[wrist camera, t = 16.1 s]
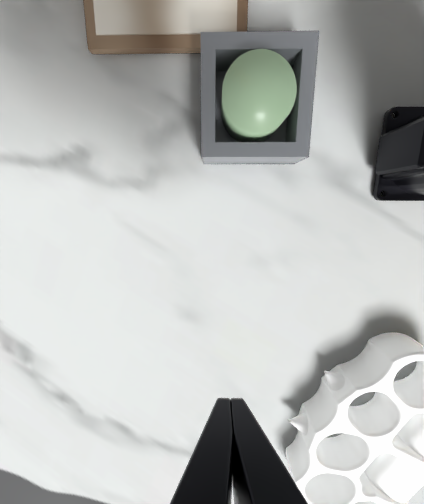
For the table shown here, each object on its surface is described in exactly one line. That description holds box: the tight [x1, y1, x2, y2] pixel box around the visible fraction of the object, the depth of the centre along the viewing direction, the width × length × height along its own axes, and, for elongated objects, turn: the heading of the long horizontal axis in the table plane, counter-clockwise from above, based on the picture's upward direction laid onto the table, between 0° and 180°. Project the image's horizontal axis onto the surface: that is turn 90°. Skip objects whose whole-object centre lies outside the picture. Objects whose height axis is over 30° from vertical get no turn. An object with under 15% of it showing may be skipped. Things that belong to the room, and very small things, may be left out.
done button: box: [221, 49, 297, 142], centre depth 16 cm, size 4×4×3 cm
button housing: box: [201, 31, 319, 164], centre depth 16 cm, size 7×7×3 cm
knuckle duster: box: [285, 332, 424, 504], centre depth 22 cm, size 3×18×15 cm
